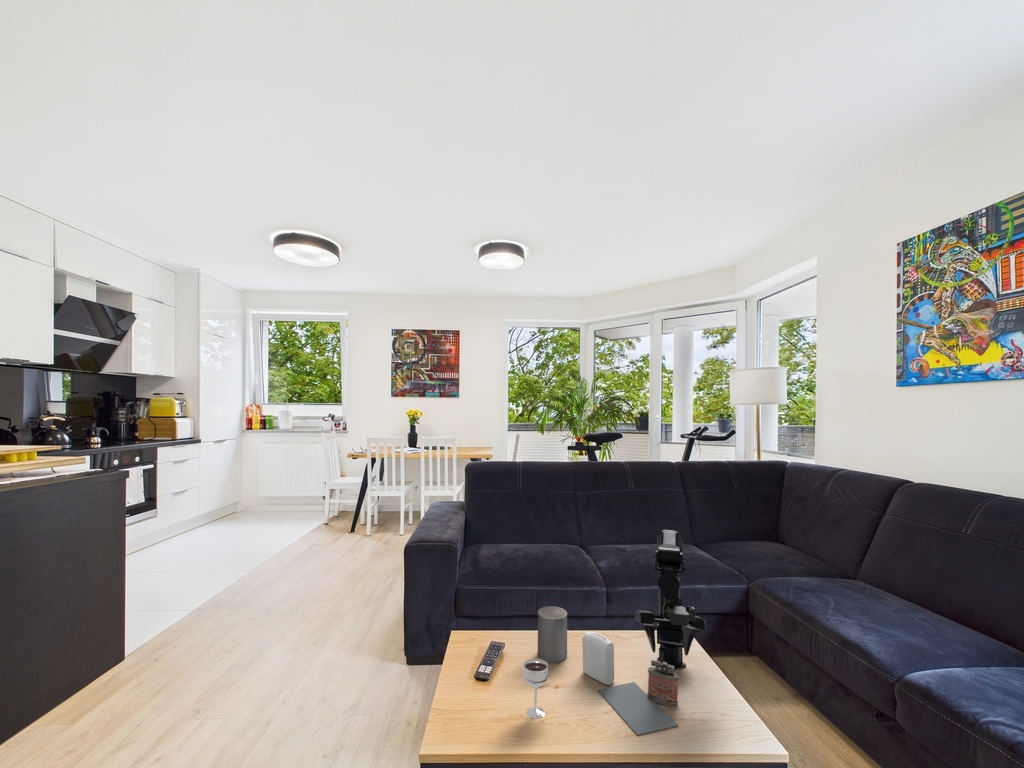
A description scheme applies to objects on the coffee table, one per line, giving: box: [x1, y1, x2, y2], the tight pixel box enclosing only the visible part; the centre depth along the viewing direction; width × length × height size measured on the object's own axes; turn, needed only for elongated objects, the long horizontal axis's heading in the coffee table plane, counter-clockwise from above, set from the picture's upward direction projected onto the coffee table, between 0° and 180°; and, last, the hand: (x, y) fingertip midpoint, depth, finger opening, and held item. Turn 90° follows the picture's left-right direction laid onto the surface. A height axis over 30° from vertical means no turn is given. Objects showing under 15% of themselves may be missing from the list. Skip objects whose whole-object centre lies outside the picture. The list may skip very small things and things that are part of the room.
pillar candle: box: [537, 605, 568, 663], centre depth 153 cm, size 10×10×15 cm
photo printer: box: [582, 631, 615, 686], centre depth 140 cm, size 10×4×12 cm, turn 39°
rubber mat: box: [597, 681, 679, 737], centre depth 126 cm, size 12×20×1 cm, turn 18°
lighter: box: [646, 659, 680, 708], centre depth 129 cm, size 8×3×10 cm, turn 65°
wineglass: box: [522, 658, 550, 719], centre depth 124 cm, size 7×7×12 cm
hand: (670, 653), depth 131 cm, fingers open, 9 cm apart
